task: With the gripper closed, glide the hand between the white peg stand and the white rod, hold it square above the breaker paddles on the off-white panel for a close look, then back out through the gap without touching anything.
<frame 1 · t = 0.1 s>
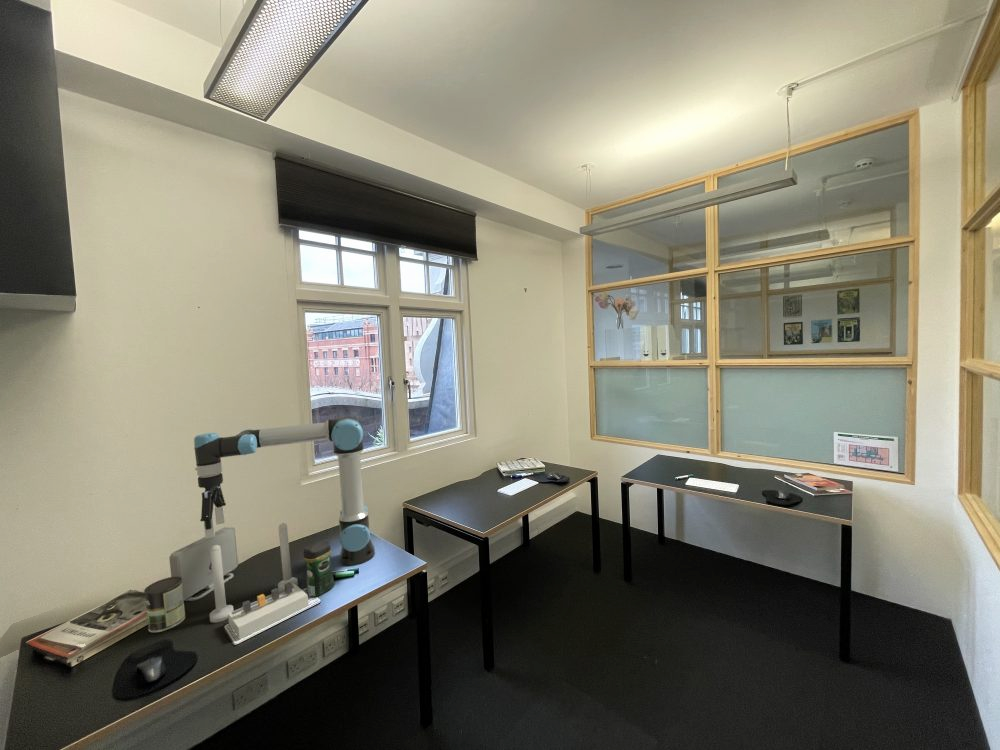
hand: (215, 530, 151), 28 cm above the table, fingers open, 13 cm apart
breaker paddles: (268, 597, 142), point 6 cm above the table, hinge at 0.0°
network device: (208, 587, 164), on the table
white peg stand: (222, 616, 144), on the table
white rod: (288, 587, 160), on the table
breaker panel: (270, 614, 143), on the table
coffee jar: (320, 590, 156), on the table
coffee can: (167, 623, 142), on the table
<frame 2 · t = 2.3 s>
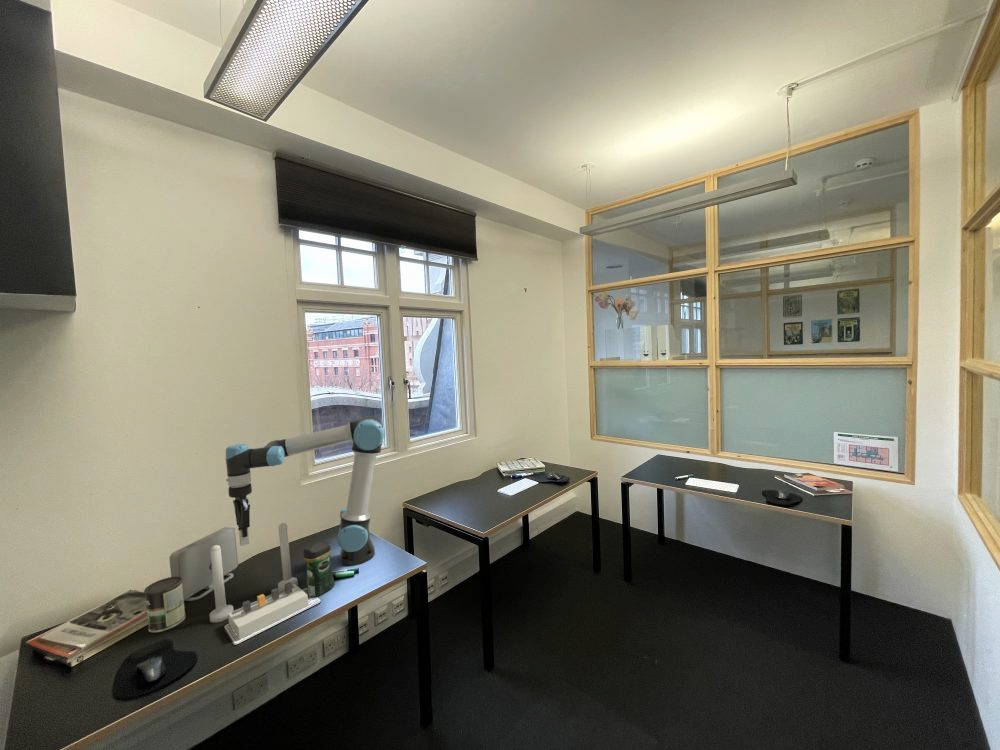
hand: (244, 544, 156), 20 cm above the table, fingers closed
nothing on the table moved.
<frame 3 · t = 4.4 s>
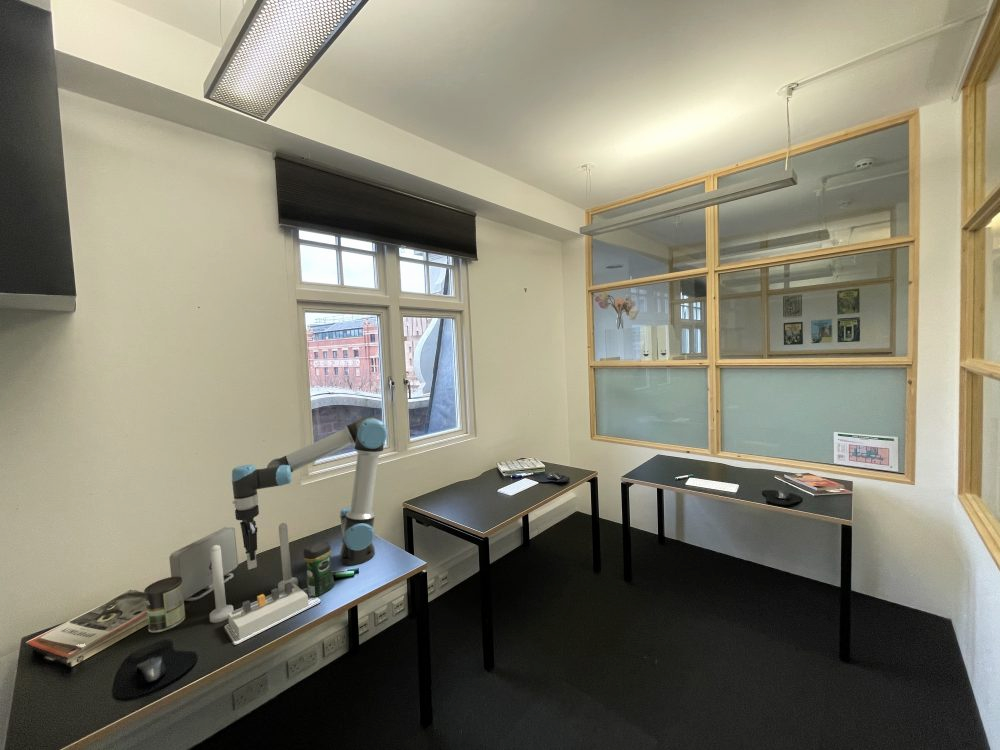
hand: (252, 567, 153), 12 cm above the table, fingers closed
nothing on the table moved.
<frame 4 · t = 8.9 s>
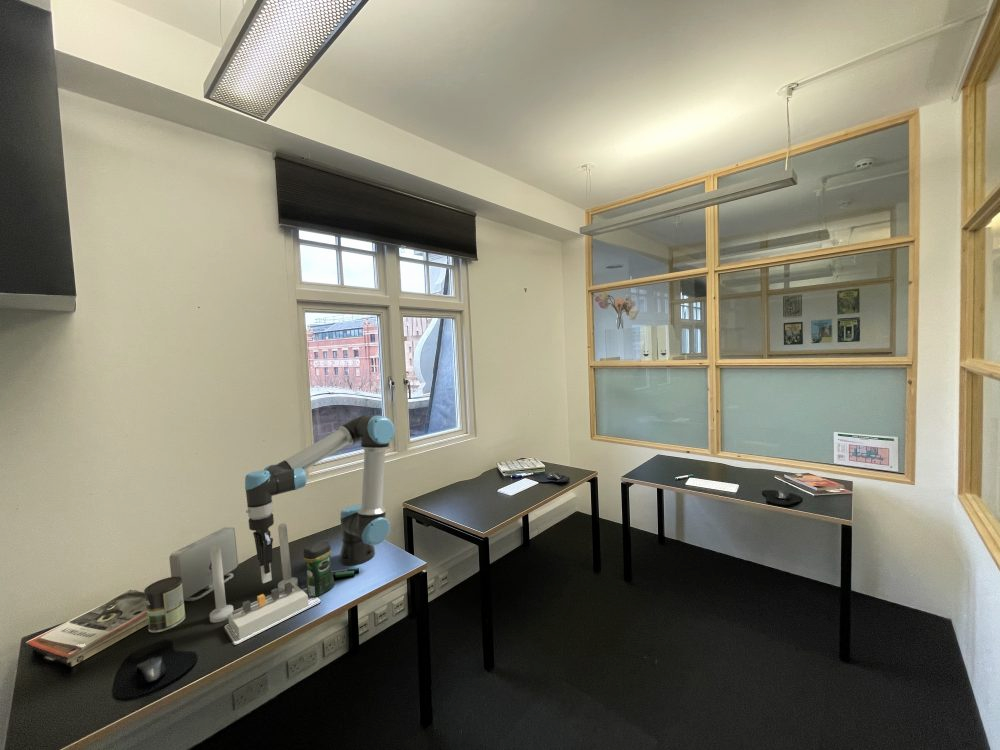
hand: (266, 580, 142), 12 cm above the table, fingers closed
nothing on the table moved.
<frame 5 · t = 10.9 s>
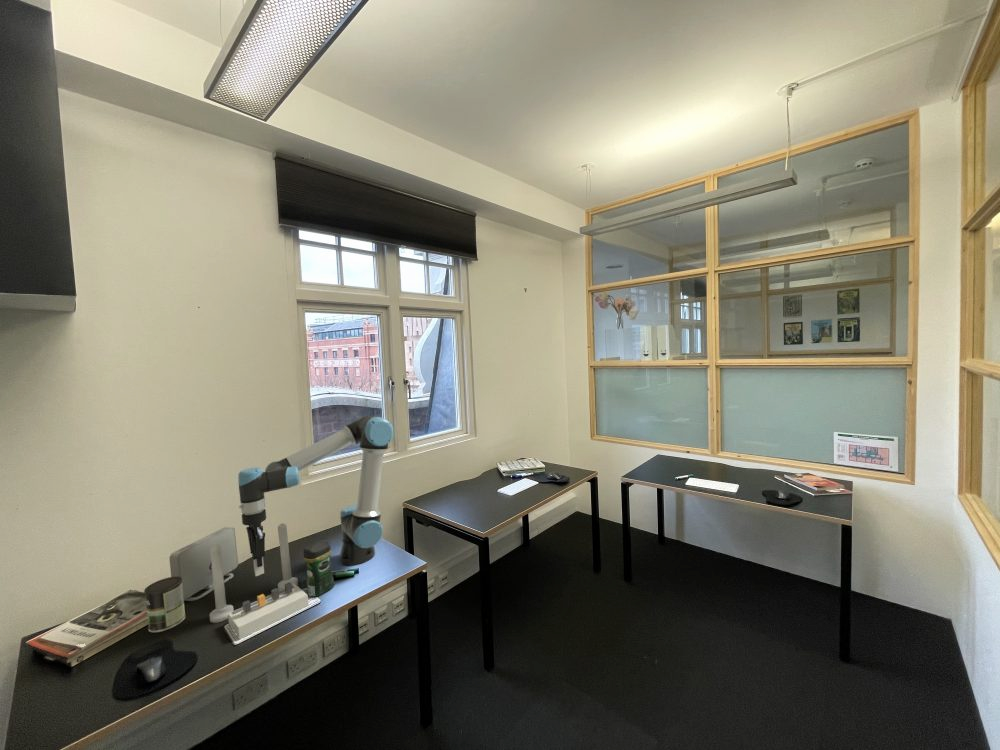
hand: (259, 574, 147), 12 cm above the table, fingers closed
nothing on the table moved.
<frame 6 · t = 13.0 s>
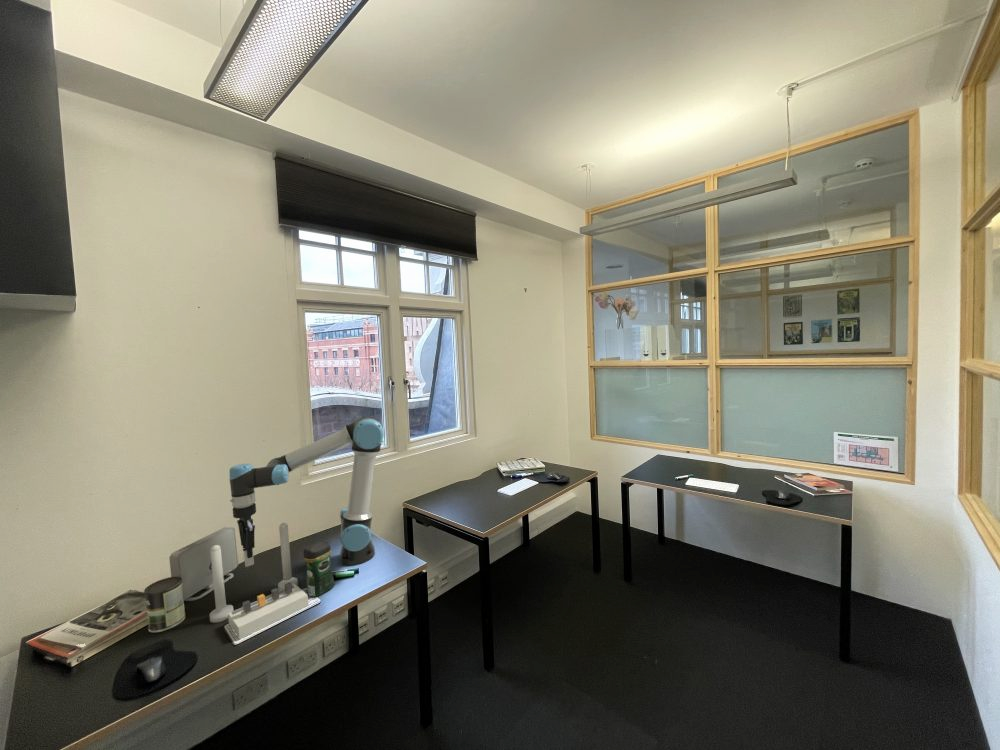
hand: (249, 564, 155), 12 cm above the table, fingers closed
nothing on the table moved.
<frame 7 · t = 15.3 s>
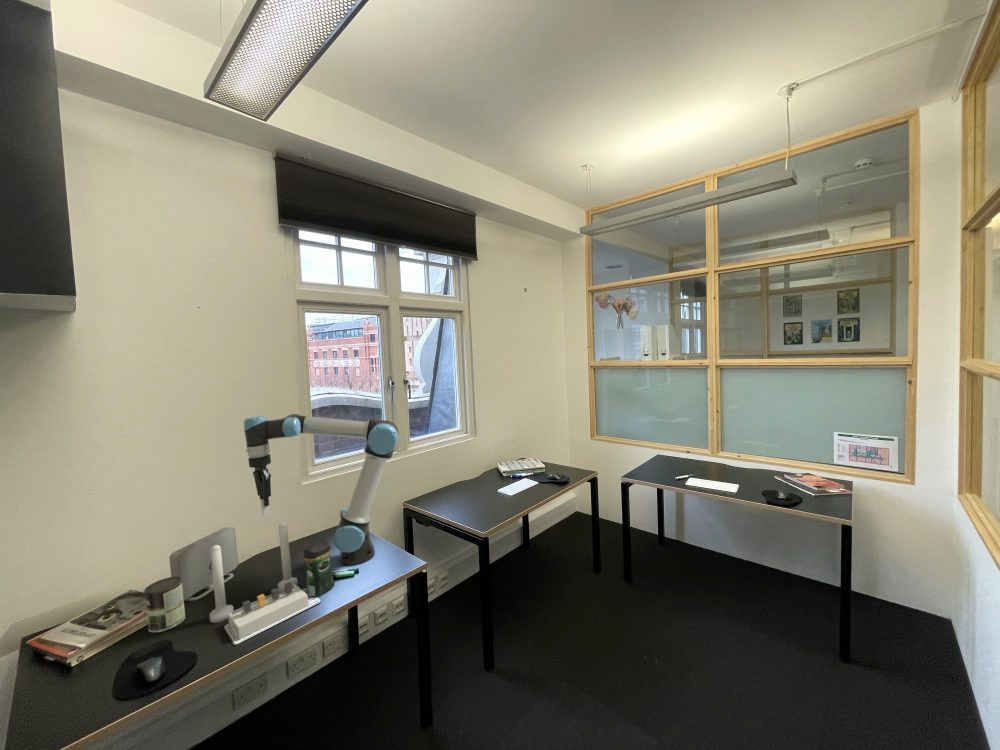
hand: (266, 513, 161), 30 cm above the table, fingers closed
nothing on the table moved.
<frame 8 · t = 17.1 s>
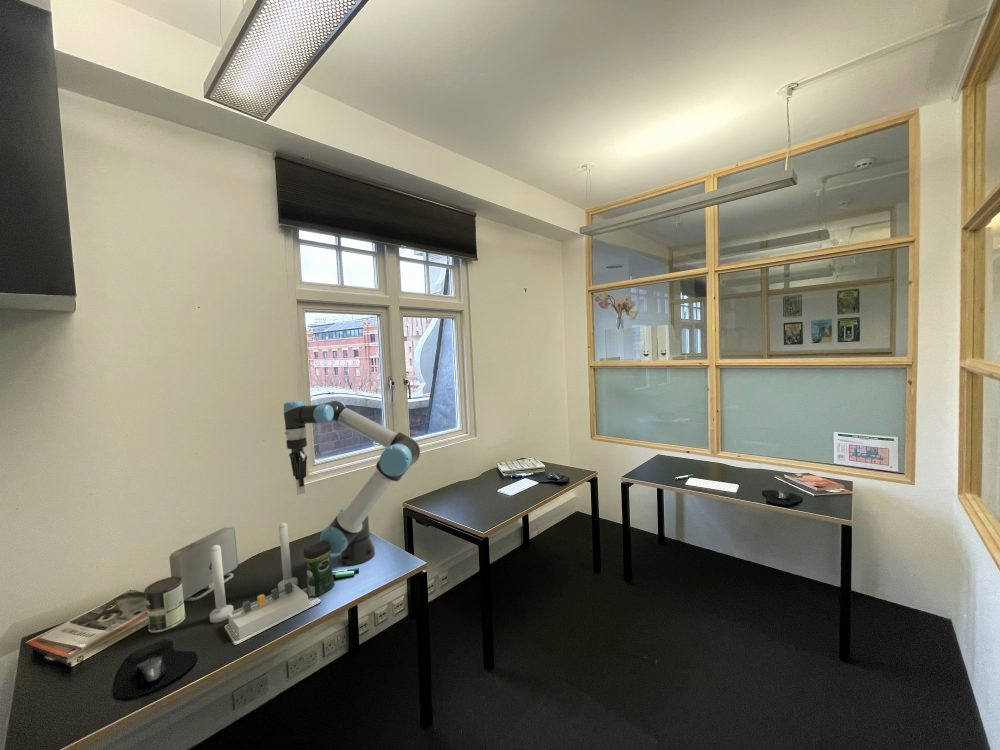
hand: (301, 493, 169), 34 cm above the table, fingers closed
nothing on the table moved.
at the end: white peg stand moved 0.0 cm from its start; white rod moved 0.0 cm from its start; breaker paddles at +0° (first picture: +0°) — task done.
